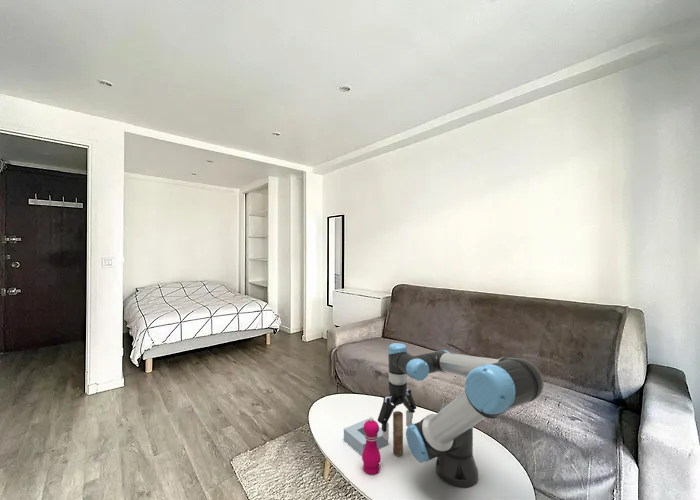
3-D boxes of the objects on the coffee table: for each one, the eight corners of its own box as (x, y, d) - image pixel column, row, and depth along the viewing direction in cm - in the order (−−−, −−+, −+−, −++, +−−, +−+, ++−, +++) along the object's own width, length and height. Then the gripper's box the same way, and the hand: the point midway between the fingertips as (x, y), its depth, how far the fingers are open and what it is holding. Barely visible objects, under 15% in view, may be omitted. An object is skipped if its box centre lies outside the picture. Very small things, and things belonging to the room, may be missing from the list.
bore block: (388, 444, 133) (388, 432, 133) (363, 456, 125) (363, 444, 125) (368, 429, 145) (368, 418, 145) (343, 440, 136) (343, 428, 136)
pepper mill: (365, 477, 114) (365, 423, 114) (359, 464, 121) (359, 413, 121) (383, 473, 116) (383, 420, 116) (376, 461, 123) (376, 411, 123)
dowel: (405, 454, 127) (404, 414, 127) (398, 458, 124) (397, 417, 124) (398, 449, 130) (397, 410, 130) (391, 452, 128) (391, 413, 128)
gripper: (411, 371, 138) (411, 418, 138) (368, 386, 123) (368, 438, 123) (424, 377, 132) (424, 426, 132) (381, 393, 117) (381, 448, 117)
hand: (397, 432), depth 127 cm, fingers open, 13 cm apart
